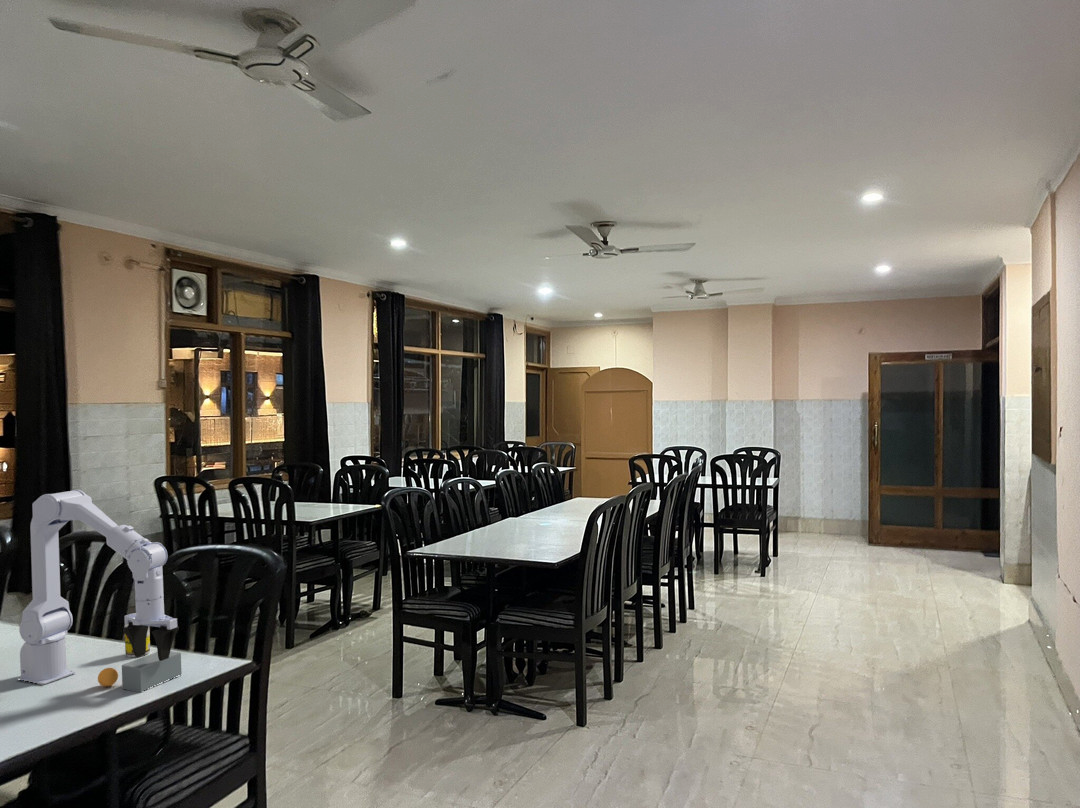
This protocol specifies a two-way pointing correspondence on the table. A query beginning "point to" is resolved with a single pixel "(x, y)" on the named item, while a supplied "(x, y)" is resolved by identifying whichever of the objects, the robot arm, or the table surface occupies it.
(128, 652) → the supplement bottle
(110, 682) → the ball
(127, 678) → the grey rectangular block
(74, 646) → the table surface
